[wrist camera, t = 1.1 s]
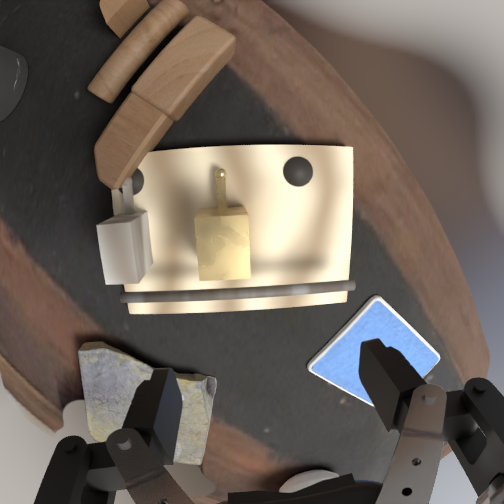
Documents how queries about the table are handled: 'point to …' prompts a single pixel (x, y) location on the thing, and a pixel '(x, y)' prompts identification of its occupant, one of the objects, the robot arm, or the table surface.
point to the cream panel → (260, 228)
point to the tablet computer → (366, 328)
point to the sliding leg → (222, 238)
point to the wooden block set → (152, 79)
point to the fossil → (122, 392)
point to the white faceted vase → (306, 480)
